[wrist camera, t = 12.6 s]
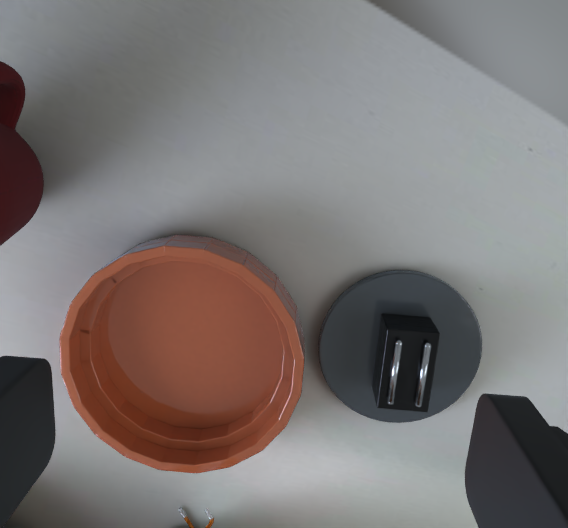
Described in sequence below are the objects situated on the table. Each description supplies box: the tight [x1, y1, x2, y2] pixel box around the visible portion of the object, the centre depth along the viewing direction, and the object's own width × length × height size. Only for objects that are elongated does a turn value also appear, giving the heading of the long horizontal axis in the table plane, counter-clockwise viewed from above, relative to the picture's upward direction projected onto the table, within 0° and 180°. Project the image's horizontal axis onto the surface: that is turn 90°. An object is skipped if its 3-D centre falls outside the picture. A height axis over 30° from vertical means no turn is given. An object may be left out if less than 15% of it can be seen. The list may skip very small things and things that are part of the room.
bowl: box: [60, 235, 305, 473], centre depth 33 cm, size 14×14×4 cm
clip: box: [372, 314, 440, 412], centre depth 32 cm, size 5×3×3 cm, turn 176°
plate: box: [319, 270, 482, 423], centre depth 34 cm, size 10×10×1 cm
